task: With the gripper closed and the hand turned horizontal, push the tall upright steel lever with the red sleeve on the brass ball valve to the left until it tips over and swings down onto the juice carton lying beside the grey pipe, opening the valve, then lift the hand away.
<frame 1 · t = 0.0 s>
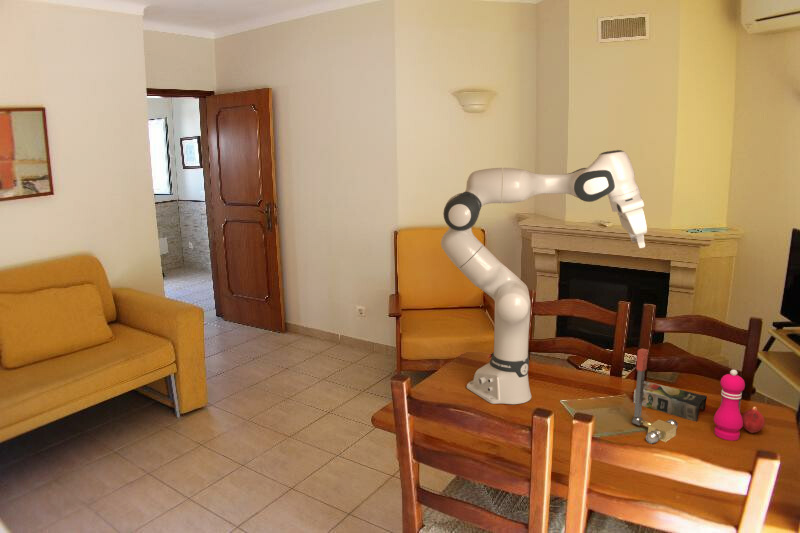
hand: (638, 244, 174), 52 cm above the table, tool tilted 20°, fingers open, 8 cm apart
valve body: (661, 435, 164), on the table
onion: (751, 433, 165), on the table
juice carton: (667, 408, 181), on the table
soda can: (728, 418, 174), on the table
valve lever: (639, 387, 167), point 12 cm above the table, hinge at 0.0°
pepper mill: (726, 436, 163), on the table
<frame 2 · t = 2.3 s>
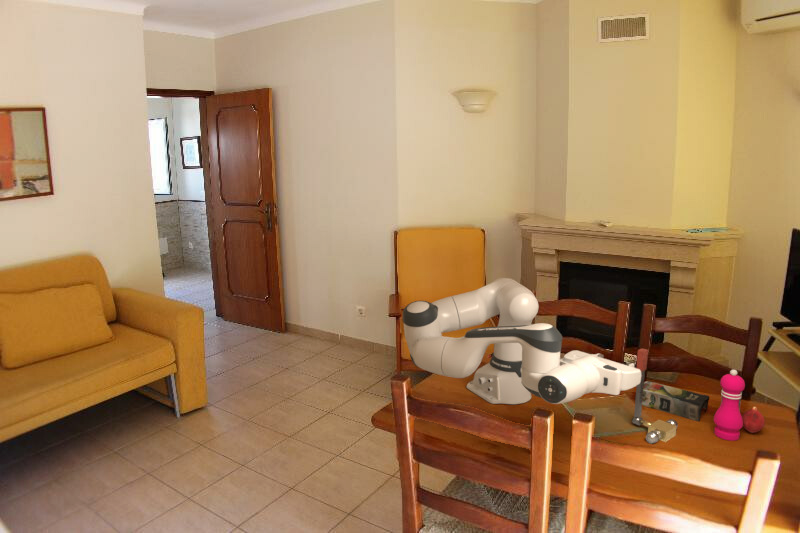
hand: (616, 361, 156), 24 cm above the table, tool horizontal, fingers open, 8 cm apart
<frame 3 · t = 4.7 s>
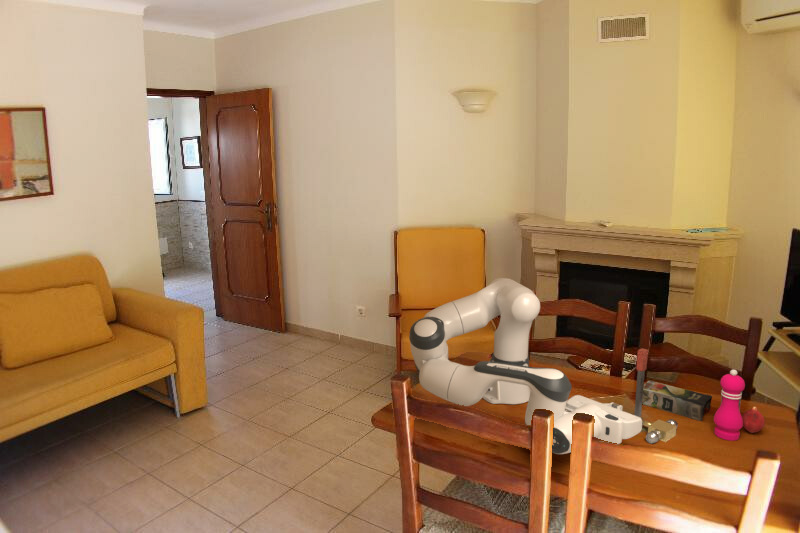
hand: (617, 406, 160), 10 cm above the table, tool horizontal, fingers closed
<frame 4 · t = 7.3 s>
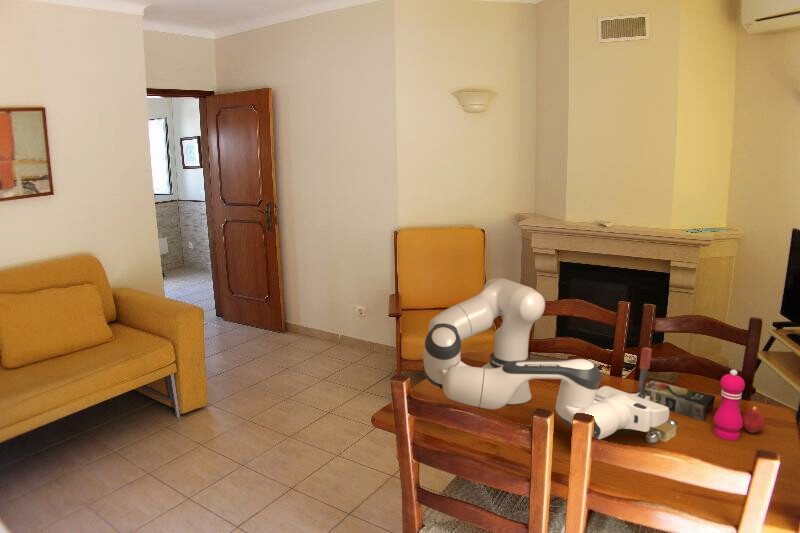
hand: (644, 396, 166), 10 cm above the table, tool horizontal, fingers closed
valve lever: (641, 386, 168), point 12 cm above the table, hinge at 6.3°, touching gripper
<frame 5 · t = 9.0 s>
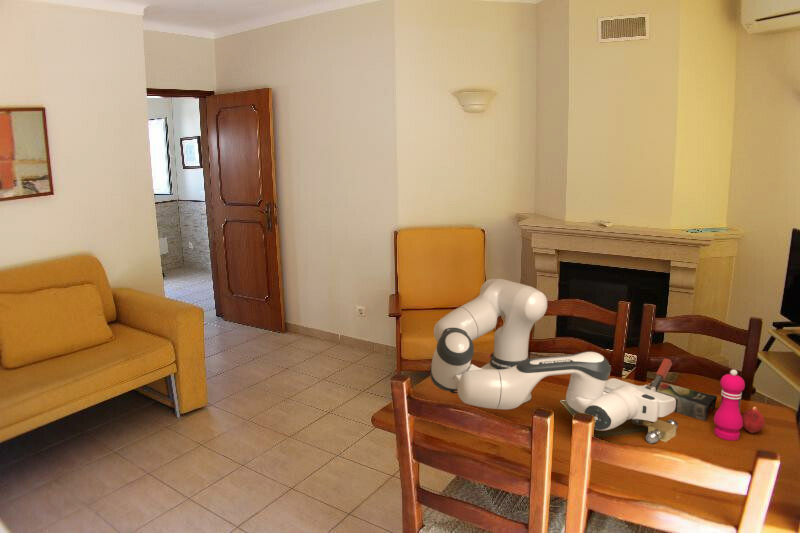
hand: (650, 388, 171), 10 cm above the table, tool horizontal, fingers closed
valve lever: (652, 391, 172), point 9 cm above the table, hinge at 49.1°
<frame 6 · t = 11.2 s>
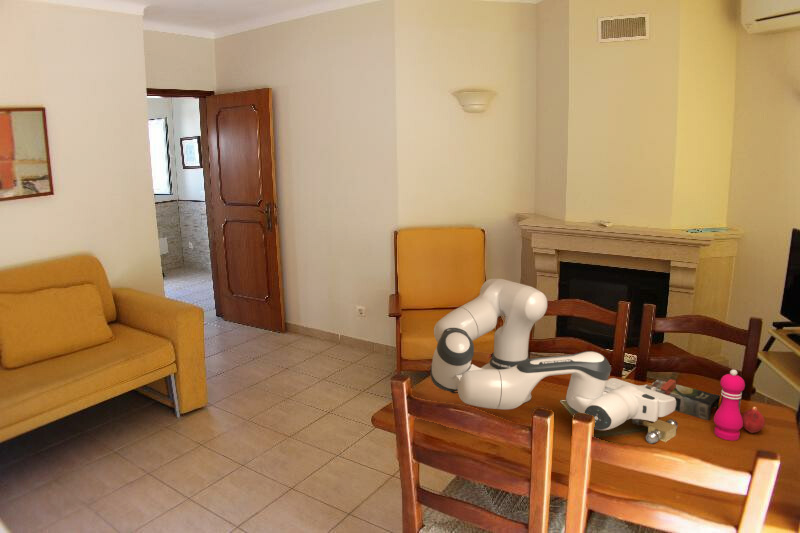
hand: (651, 388, 172), 10 cm above the table, tool horizontal, fingers closed
juice carton: (680, 407, 182), on the table
valve lever: (654, 402, 175), point 5 cm above the table, hinge at 74.6°
everything else where it was.
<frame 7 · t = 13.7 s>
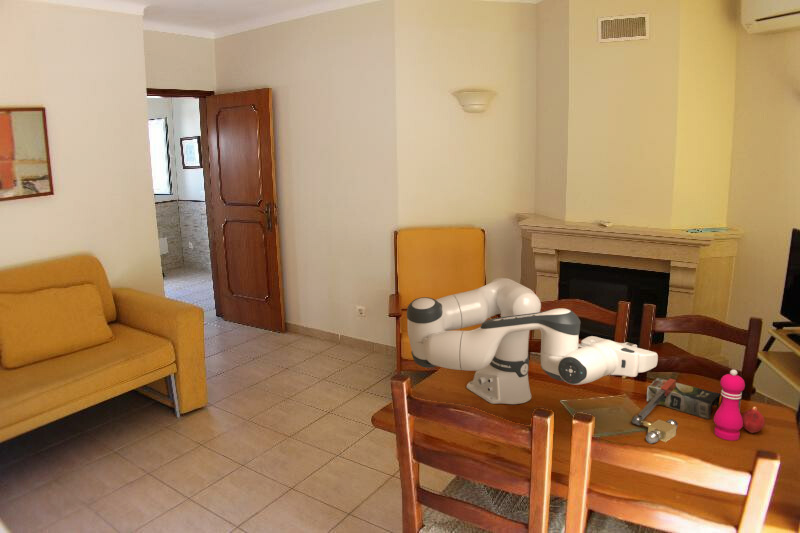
hand: (632, 346, 160), 26 cm above the table, tool horizontal, fingers closed
juice carton: (681, 406, 182), on the table, touching valve lever
valve lever: (654, 401, 175), point 5 cm above the table, hinge at 73.9°, touching juice carton
everything else where it was.
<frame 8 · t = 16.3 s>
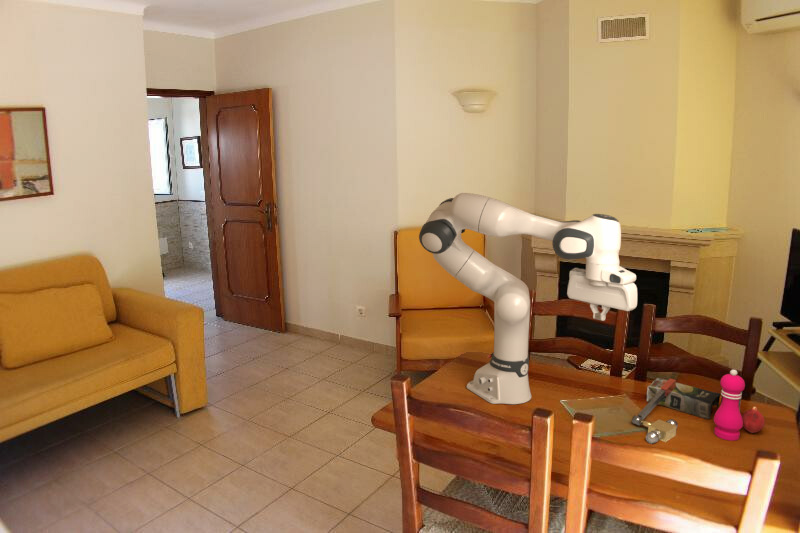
hand: (599, 319, 163), 33 cm above the table, tool pointing down, fingers closed
nothing on the table moved.
at the end: valve lever at +74° (first picture: +0°); valve lever touching juice carton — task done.
